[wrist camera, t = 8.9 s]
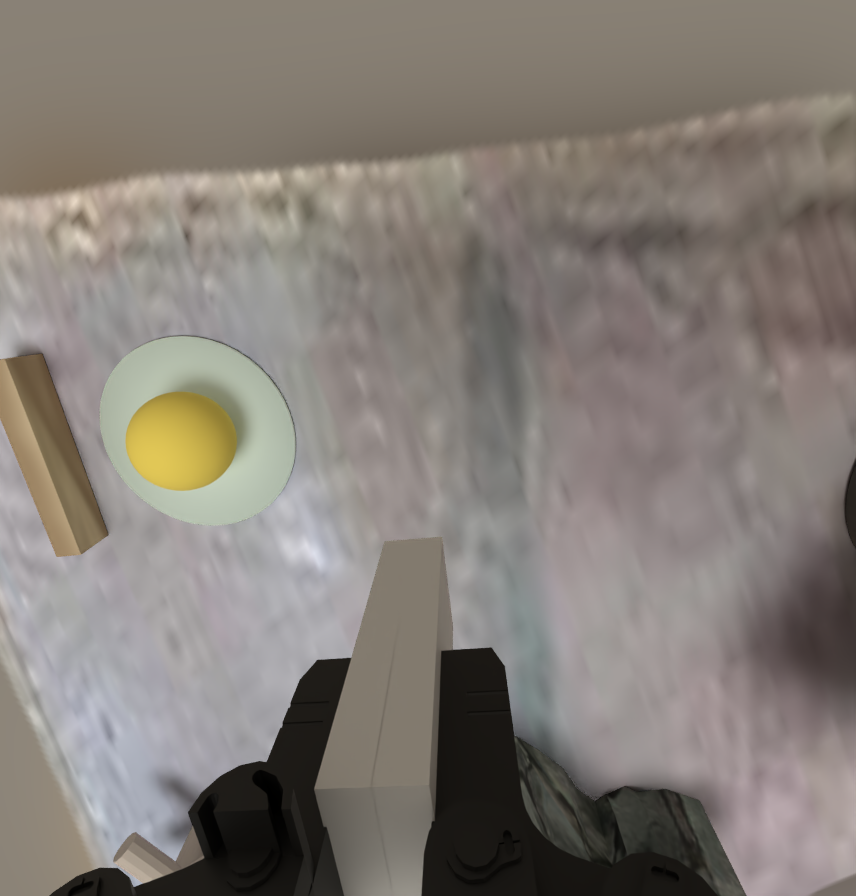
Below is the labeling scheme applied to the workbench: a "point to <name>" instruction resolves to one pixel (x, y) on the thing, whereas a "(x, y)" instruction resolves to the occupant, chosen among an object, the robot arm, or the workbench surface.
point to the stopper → (48, 455)
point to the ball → (181, 441)
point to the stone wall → (622, 822)
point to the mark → (233, 388)
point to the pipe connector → (155, 857)
